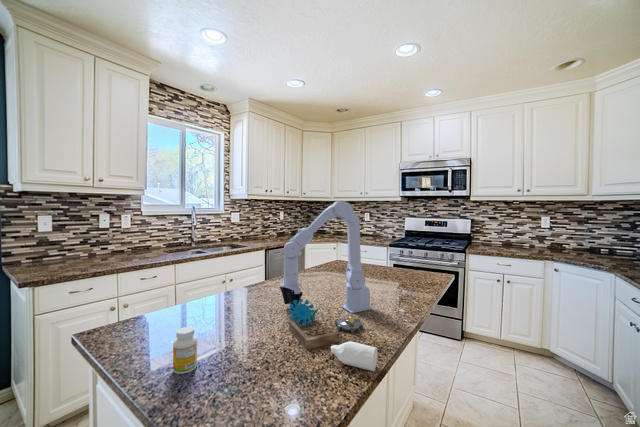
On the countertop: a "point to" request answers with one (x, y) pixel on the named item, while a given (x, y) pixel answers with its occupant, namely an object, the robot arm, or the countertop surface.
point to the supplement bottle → (185, 351)
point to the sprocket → (349, 324)
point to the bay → (313, 341)
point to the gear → (302, 312)
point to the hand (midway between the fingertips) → (290, 306)
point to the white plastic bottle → (356, 355)
